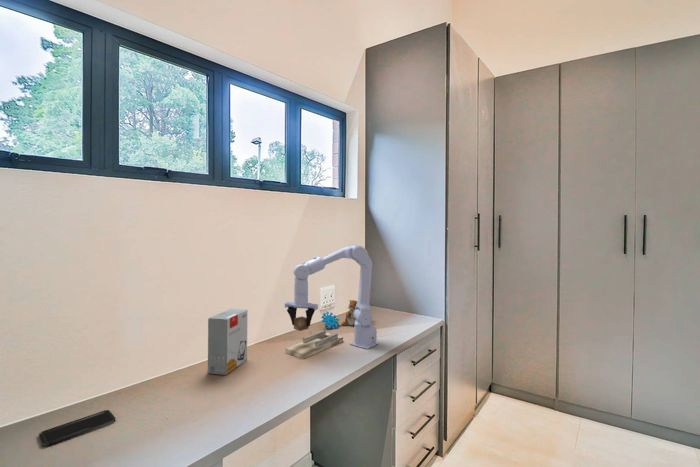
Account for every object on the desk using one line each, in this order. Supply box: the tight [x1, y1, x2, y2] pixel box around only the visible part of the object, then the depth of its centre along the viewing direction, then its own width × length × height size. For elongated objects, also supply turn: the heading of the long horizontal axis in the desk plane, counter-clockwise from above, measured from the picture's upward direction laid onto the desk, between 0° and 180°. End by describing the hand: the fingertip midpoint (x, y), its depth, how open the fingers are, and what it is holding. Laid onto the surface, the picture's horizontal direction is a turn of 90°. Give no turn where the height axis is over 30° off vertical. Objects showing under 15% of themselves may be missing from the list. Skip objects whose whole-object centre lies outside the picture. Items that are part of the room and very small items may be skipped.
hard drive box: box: [207, 308, 248, 376], centre depth 131 cm, size 16×8×20 cm, turn 168°
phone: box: [38, 409, 116, 448], centre depth 91 cm, size 8×1×15 cm
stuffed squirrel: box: [341, 299, 358, 326], centre depth 186 cm, size 10×14×13 cm
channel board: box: [285, 330, 344, 360], centre depth 151 cm, size 10×26×4 cm, turn 143°
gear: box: [321, 311, 341, 330], centre depth 181 cm, size 11×6×10 cm
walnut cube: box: [293, 316, 310, 332], centre depth 148 cm, size 4×4×4 cm
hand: (301, 325), depth 148 cm, fingers closed on walnut cube, 6 cm apart
